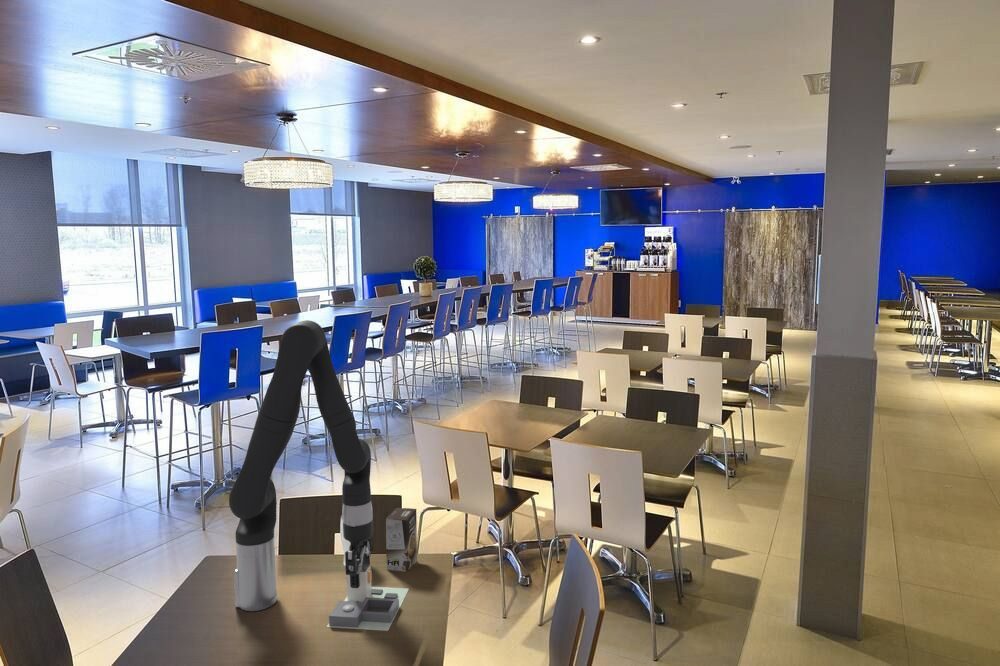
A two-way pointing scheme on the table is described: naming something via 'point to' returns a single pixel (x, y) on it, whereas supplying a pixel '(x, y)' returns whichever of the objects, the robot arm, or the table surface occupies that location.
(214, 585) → the table surface
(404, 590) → the board
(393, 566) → the coffee box
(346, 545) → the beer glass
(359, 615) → the grey button block
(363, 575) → the plug
